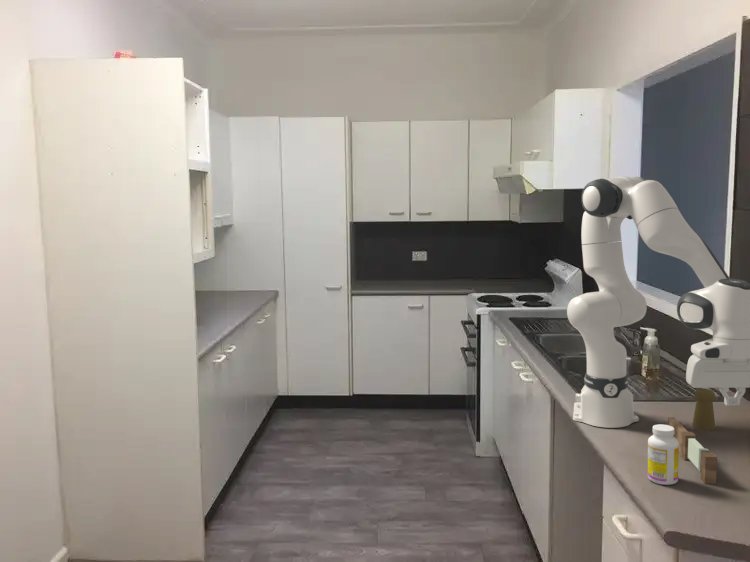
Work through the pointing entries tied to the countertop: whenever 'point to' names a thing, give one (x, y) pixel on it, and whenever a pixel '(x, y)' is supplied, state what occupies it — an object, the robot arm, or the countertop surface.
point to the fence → (706, 457)
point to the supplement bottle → (663, 455)
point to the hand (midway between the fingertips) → (731, 404)
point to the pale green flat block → (695, 452)
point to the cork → (704, 410)
